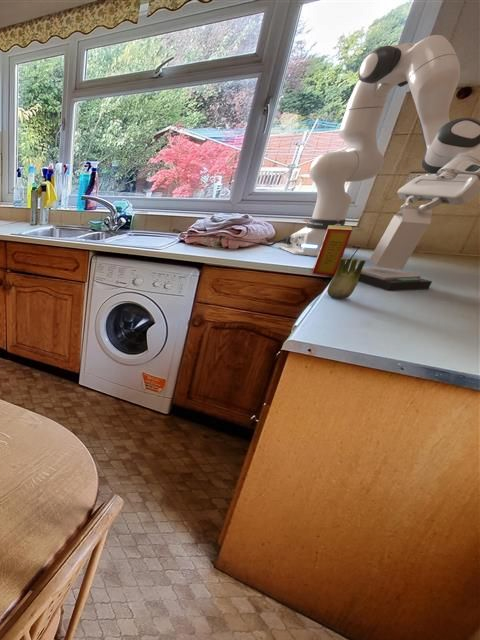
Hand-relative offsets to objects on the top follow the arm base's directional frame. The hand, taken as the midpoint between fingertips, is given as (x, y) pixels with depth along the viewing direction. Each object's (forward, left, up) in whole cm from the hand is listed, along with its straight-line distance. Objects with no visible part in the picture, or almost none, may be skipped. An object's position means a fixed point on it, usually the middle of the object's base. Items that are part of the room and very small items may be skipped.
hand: (411, 210), depth 135 cm
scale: (+1, +1, -23) cm, 23 cm away
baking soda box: (-16, -7, -23) cm, 29 cm away
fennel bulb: (+15, -27, -23) cm, 38 cm away
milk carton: (-2, +1, -17) cm, 18 cm away
